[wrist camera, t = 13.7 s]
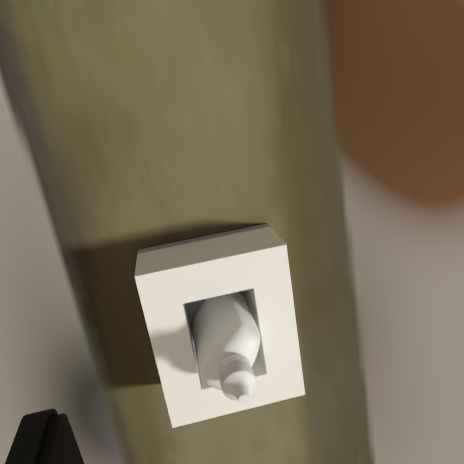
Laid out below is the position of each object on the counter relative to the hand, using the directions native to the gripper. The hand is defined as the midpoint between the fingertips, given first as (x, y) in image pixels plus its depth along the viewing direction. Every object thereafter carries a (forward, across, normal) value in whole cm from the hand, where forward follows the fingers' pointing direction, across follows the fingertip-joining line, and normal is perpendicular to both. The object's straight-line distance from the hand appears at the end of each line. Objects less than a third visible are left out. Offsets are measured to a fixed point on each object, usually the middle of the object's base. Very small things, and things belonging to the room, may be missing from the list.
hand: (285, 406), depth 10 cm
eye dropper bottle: (+27, 0, +13) cm, 30 cm away
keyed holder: (+28, 0, +13) cm, 31 cm away
